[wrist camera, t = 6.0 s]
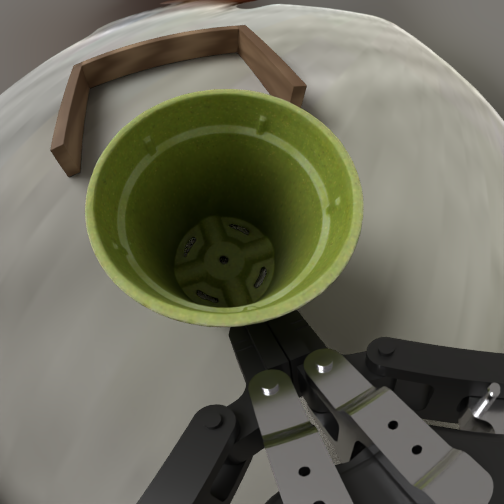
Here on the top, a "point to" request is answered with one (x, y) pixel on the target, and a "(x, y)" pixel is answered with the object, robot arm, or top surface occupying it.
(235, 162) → the plant pot
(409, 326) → the top surface
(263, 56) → the wooden u bracket
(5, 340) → the top surface
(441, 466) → the robot arm
